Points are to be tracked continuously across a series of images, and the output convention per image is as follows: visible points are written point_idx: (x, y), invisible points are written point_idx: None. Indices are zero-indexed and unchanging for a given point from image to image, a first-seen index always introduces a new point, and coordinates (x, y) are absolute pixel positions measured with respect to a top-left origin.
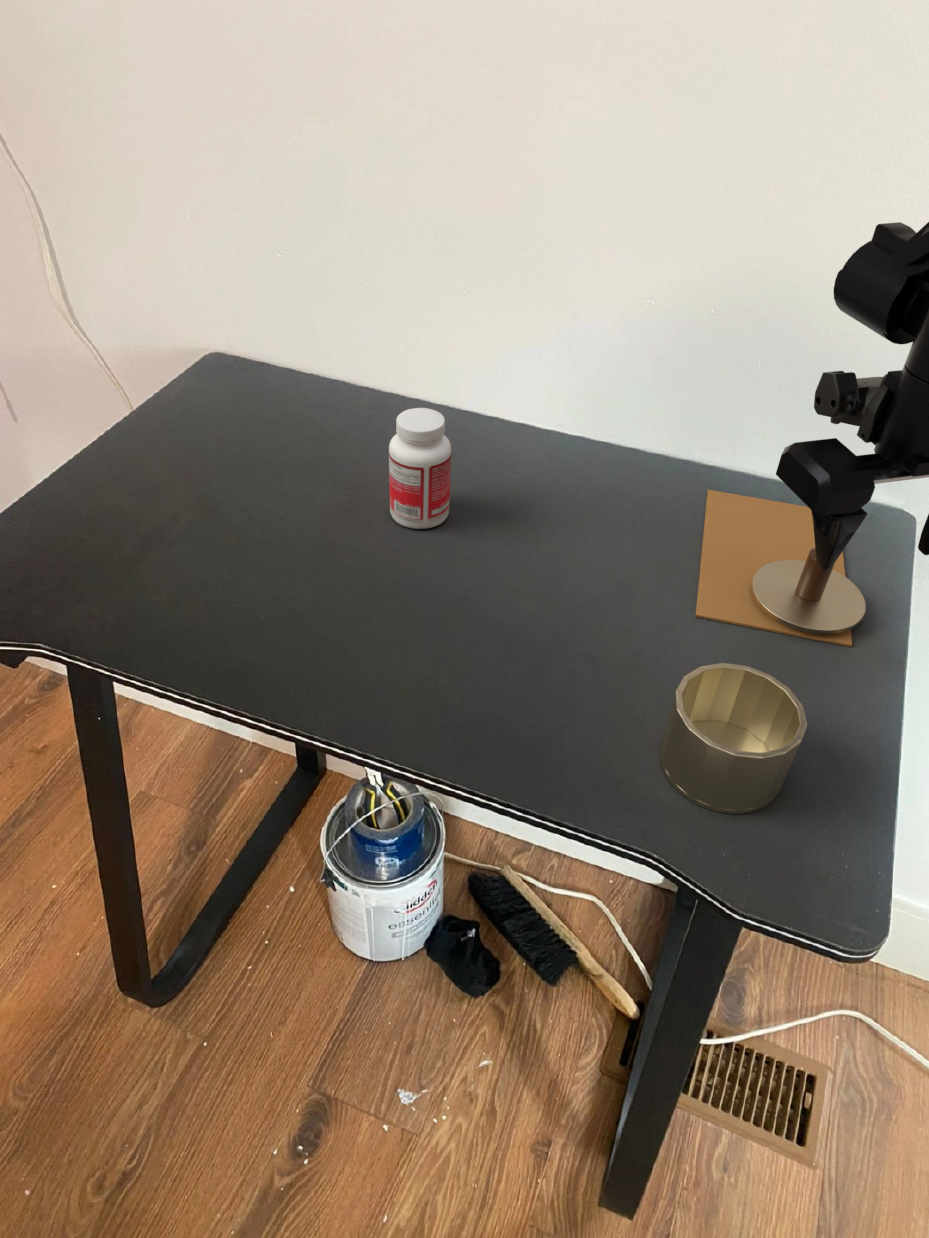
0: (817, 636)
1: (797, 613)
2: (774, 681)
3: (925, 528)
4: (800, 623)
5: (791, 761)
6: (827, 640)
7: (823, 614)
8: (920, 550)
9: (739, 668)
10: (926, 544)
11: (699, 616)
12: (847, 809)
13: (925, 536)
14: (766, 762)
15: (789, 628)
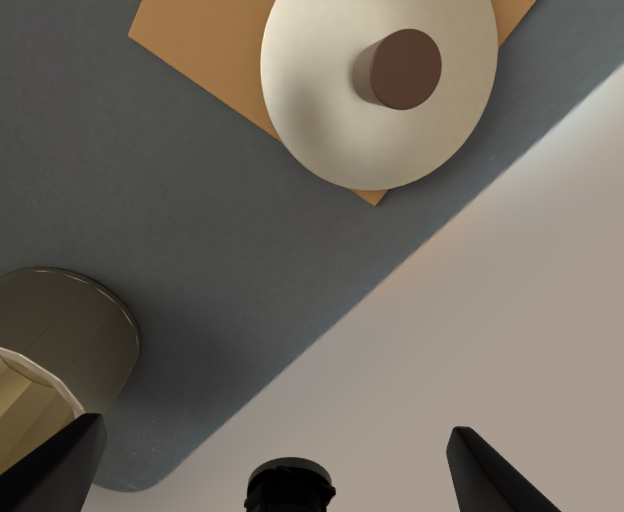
0: None
1: (314, 127)
2: (61, 391)
3: (492, 491)
4: (303, 154)
5: None
6: None
7: (362, 145)
8: (452, 435)
9: (4, 356)
10: (460, 474)
11: (136, 41)
12: (190, 408)
13: (473, 481)
14: None
15: None
